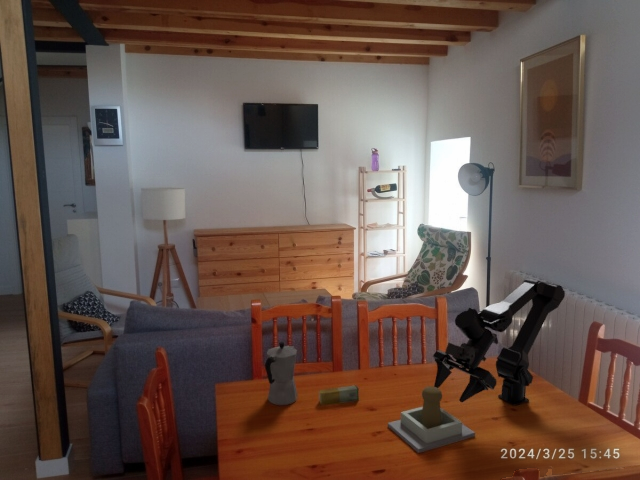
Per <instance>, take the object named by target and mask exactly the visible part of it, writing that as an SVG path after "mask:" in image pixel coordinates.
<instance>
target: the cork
mask: <svg viewBox="0 0 640 480" xmlns="http://www.w3.org/2000/svg"><path fill="white" fill-rule="evenodd" d="M421 397H422V399H423V402H422V407H423V409H422V415H421V421H420V424H422V425H423V426H424V427H426V428H427V429H430V428H433V427H437V426H440V425H442V418H441V409H440V407H441V403H440V402H441V401H442V399H443V394H442V390H441V389H440V388H437V387H434V386H431V385H430V386H429V385H428V386H425V387H424V388H423V389H422V392H421Z"/></svg>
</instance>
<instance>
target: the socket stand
mask: <svg viewBox="0 0 640 480" xmlns="http://www.w3.org/2000/svg"><path fill="white" fill-rule="evenodd" d="M422 409H423V406H419V407H416V408H412V409H408V410H404V411H401V412H400V419H397V420H395V421H389V422H387V428H389V429H390V430H392V432H394V433H395V434H396V435H397V436H398V437H399V438H400V439H402V440H403V441H404V443H406V444H408V446H409V447H411V448H412V449H413V450H414V451H416V452H417V453H418V454H420V453H423V452H427V451H431V450H433V449H438V448H440V447H443V446H447V445H450V444H451V445H452V444H453V443H454V444H455V443H457V442H460V441H463V440H467V439H470V438H473V437H476V432H475V431H474V430H473V429H470V428H469V426H466V425H465V424H464V423H463V422H462V421H461V420H460V419H458V418H457V417H455V416H454V415H452V414H451V413H449V412H448V411H447V410H445V409H443V408H442V407H441V406H440V409H441V418H442V425H440V426H437V427H433V428H430V429H427V428H426V427H424V426H423V425H422V424H420V421H421V415H422Z"/></svg>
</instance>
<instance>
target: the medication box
mask: <svg viewBox="0 0 640 480" xmlns="http://www.w3.org/2000/svg"><path fill="white" fill-rule="evenodd" d="M359 389H360V388H359V386H357V385H349V386H341V387H333V388H327V389H326V388H325V389H319V390H318V398H319V399H318V402H319V404H320V405H321V406H326V405H327V406H329V405H335V404H342V403H349V402H350V403H351V402H358V401H359V400H360V398H359V397H360V396H359Z"/></svg>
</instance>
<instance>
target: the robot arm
mask: <svg viewBox="0 0 640 480" xmlns="http://www.w3.org/2000/svg"><path fill="white" fill-rule="evenodd" d="M565 296H566V292H565V290H564V289H563V287H562V286H561V285H559V284H555V283H550V282H545V281H541V280H537V279H533V278H526V279H524V280H523V282H522V284H520V285H519V286H518V287H517V288H516V289H514V290H513V291H512V292H511V293H509V295H507V296H506V297H505V298H504V299H502V301H500V302H497V303H492V304H490V305H488V306H487V307H484V308H483V309H482V310H481V311H479V312H478V311H477V309H475V308H472V307H469V308H468V309H467V310H463V311H462V312H460V313H458V314H457V315H456V317H455V320H454V324H455V326H456V327H457V328H458V329H459V331H461V333H462V335H464V336H465V338H467V339H468V340H467V342H466V343H465V342H462V343H461V344H460V345H457V344H454V343H452V342H448V343H447V346H446V349H445V351H442V350H440V349H438V350H436V351H435V352H434V353H433V355H432V358H433V359H434V362H435V363H436V366H437V368H436V376H435V381H434V384H433V387H437V388H438V389H440V387H441V386H442V385H443V383H445V382H446V380H447V379H448V377H450V375H451V374H452V373H453V372H452V371H451V370H453V369H456V370H458V371H459V372H463V373H465V374H467V375H469V379H468V380H469V381H468V384H466V385H467V386H466V387H465V389H464V390H463V392H462V393H461V395H460V398H459V399H458V400H459V402H460V403H465V402H466V401H467V400H469V399H470V398H472V397H474V396H475V395H477V394H479V393H482V392H484V391H489V389H490V390H494V389H495V387H496V386H497V379H496V378H495V376H494V375H493V374H492V373H491V372H490V370H487V369H485V368H482V367H480V366H479V365H480V364H481V363H482V362H484V363H485V362H486V360H487V357H486V354H487V352H488V351H489V349H490V347H491V346H492V344H495V345H498V344H499V340H498V335H497V333H494V332H492V330H493V331H495V332H498V333H504V332H505V331H506V330H507V329H508V328H509V326H510V325H511V324H512V323H513V319H514V318H513V317H514V316H515V314H516V313H518V312H519V311H520V310H521V309H523V307H525V306H526V305H527V304H528V303H529V302H530V301H531V303H532V305H531V308H530V309H529V310H528V311H529V312H527V316H526V317H525V319H524V321H523V323H522V325H521V327H520V329H519V332H518V333H517V334H516V337H515V339H514V340H513V343H512V345H511V346H509V347H508V348H507V347H502V348H501V350H500V353H499V355H498V356H497V357H496V362H495V369H496V372H497V377H499V378H502V385H501V393H500V394H498V398H499V399H501V400H503V401H505V402H507V403H508V404H510V405H512V406H518V405H520V404H525V403H528V402H530V399H529V398H527V397H526V392H527V391H526V389H527V387H530V385H531V384H532V382H533V379H534V376H533V374H532V373H531V372H530V370H529V367H530V360H529V353H530V351H531V349H532V347H533V345H534V343H535V341H536V338H538V335H539V333H540V332H541V329H542V327H543V325H544V323H545V321H546V318H547V316H548V315H549V313H551V312H553V311H554V310H556V309H557V308H559V306H560V305H561V303H562V301H563V300H564V299H565ZM451 356H452V357H451Z"/></svg>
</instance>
